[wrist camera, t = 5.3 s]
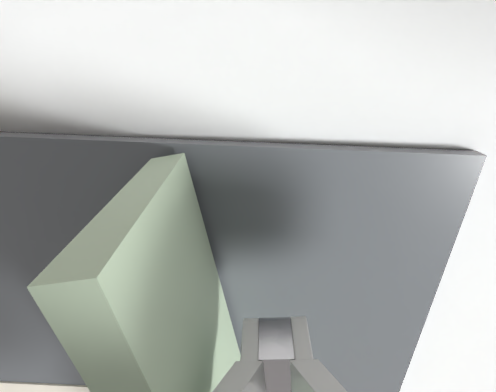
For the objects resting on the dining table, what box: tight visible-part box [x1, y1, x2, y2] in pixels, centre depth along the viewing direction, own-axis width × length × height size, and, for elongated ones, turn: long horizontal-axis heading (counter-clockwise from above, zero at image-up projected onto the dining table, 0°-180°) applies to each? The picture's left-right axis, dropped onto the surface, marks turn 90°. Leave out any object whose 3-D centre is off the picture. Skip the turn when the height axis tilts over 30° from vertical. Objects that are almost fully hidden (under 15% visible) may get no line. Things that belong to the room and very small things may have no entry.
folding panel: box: [27, 153, 241, 392], centre depth 11 cm, size 13×1×6 cm, turn 10°
